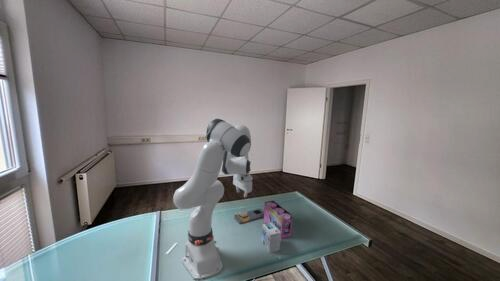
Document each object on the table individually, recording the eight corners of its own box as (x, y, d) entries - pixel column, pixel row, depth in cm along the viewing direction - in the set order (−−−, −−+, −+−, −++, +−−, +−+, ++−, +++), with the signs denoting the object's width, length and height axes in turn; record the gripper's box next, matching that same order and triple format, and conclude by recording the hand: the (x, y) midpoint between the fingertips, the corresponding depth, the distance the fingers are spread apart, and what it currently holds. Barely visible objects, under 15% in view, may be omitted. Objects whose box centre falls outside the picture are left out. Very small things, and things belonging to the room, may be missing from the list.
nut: (247, 220, 135) (247, 211, 135) (241, 221, 133) (242, 213, 133) (244, 217, 139) (244, 209, 138) (239, 218, 137) (239, 210, 136)
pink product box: (293, 237, 118) (294, 216, 117) (282, 240, 115) (283, 219, 113) (272, 218, 140) (273, 200, 138) (263, 220, 137) (264, 202, 135)
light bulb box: (261, 241, 114) (261, 223, 113) (271, 238, 116) (272, 222, 115) (269, 253, 104) (270, 234, 103) (280, 250, 106) (281, 232, 105)
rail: (266, 216, 141) (266, 212, 141) (239, 224, 130) (239, 220, 130) (260, 212, 148) (260, 208, 148) (234, 219, 137) (234, 214, 137)
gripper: (230, 172, 140) (230, 190, 141) (245, 179, 123) (245, 200, 124) (238, 171, 143) (238, 189, 145) (254, 178, 126) (253, 198, 128)
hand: (241, 194), depth 134 cm, fingers open, 8 cm apart
